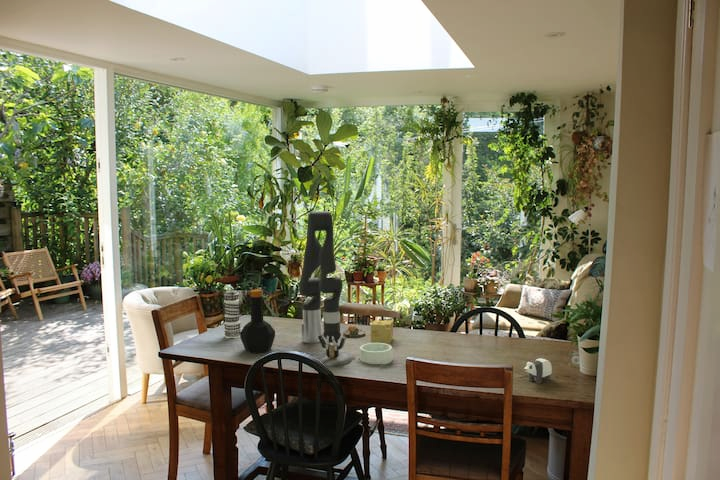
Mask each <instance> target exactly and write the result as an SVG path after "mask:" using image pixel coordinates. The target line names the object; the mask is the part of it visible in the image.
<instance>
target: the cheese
mask: <svg viewBox="0 0 720 480" xmlns="http://www.w3.org/2000/svg"><path fill="white" fill-rule="evenodd" d="M393 337H394V321H393V320H389V319H388V320H377V319H376V320H373V321H372V322H371V324H370V343H385V344H388V345H391V343H392V341H393V339H394V338H393Z"/></svg>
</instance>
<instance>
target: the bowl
mask: <svg viewBox="0 0 720 480" xmlns="http://www.w3.org/2000/svg"><path fill="white" fill-rule="evenodd" d="M359 359H360V362H363V363H364V364H370V365H381V364H382V365H387V364H390V363H391V362H393V347H392V345H391V344H385V343H371V342H368V343H364V344H361V345H360V347H359Z"/></svg>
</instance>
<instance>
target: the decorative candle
mask: <svg viewBox="0 0 720 480" xmlns="http://www.w3.org/2000/svg"><path fill="white" fill-rule="evenodd" d="M239 294H240V293H239V292H238V291H237V290H235V289H231V290H226V291H225V292H224V293H223V298H224V299H223V301H222V306H223V313H224V314H223V315H224V329H225V330H224V337H226V338H225V339H228V338H235V339H237V338H236V337H239V338H240V332H241V331H242V329H241V323H240V322H241V320H240V316H241V310H240V309H241V304H240V303H239V302H240V299H239Z"/></svg>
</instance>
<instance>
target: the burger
mask: <svg viewBox="0 0 720 480" xmlns="http://www.w3.org/2000/svg"><path fill="white" fill-rule="evenodd" d="M365 334H366V331H365V330H363V329H359V328H357V326H356V325H355V324H349V326H348V328H347V330H344V331H343V332H342V336H343V337H346V338H347V339H348V338H350V339H358V338H364V335H365Z"/></svg>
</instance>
